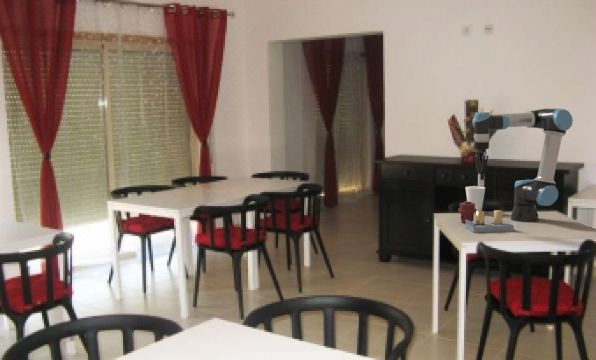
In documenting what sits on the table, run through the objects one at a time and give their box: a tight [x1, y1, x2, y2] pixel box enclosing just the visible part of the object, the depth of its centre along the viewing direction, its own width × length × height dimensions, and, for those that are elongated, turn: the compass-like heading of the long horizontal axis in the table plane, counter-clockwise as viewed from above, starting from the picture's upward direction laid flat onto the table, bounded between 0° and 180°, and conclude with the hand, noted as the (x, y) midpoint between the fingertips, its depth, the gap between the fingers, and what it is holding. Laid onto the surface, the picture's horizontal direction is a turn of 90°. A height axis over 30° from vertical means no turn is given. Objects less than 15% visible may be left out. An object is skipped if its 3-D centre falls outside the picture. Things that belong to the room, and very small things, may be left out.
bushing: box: [475, 210, 486, 226], centre depth 338 cm, size 4×4×10 cm
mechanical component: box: [457, 200, 476, 224], centre depth 356 cm, size 12×10×10 cm
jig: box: [464, 209, 514, 234], centre depth 338 cm, size 22×12×10 cm, turn 96°
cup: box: [465, 185, 486, 215], centre depth 386 cm, size 12×12×16 cm
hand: (481, 185), depth 335 cm, fingers closed
